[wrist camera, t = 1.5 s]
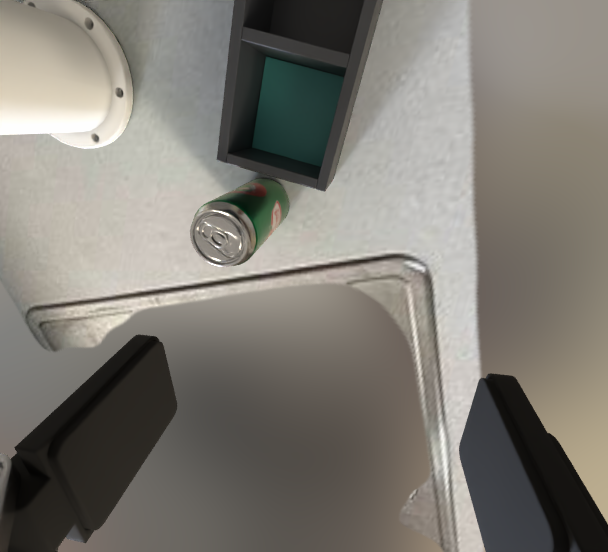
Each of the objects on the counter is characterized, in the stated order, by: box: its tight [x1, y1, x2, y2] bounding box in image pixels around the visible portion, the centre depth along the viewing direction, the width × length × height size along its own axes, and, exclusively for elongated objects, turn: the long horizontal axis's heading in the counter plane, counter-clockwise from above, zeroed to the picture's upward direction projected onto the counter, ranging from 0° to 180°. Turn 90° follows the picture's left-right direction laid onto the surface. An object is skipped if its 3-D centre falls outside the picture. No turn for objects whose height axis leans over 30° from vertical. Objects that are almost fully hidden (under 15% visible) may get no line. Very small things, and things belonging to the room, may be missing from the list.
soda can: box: [190, 178, 289, 267], centre depth 28 cm, size 5×5×12 cm
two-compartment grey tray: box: [217, 0, 383, 191], centre depth 25 cm, size 9×17×7 cm, turn 166°
